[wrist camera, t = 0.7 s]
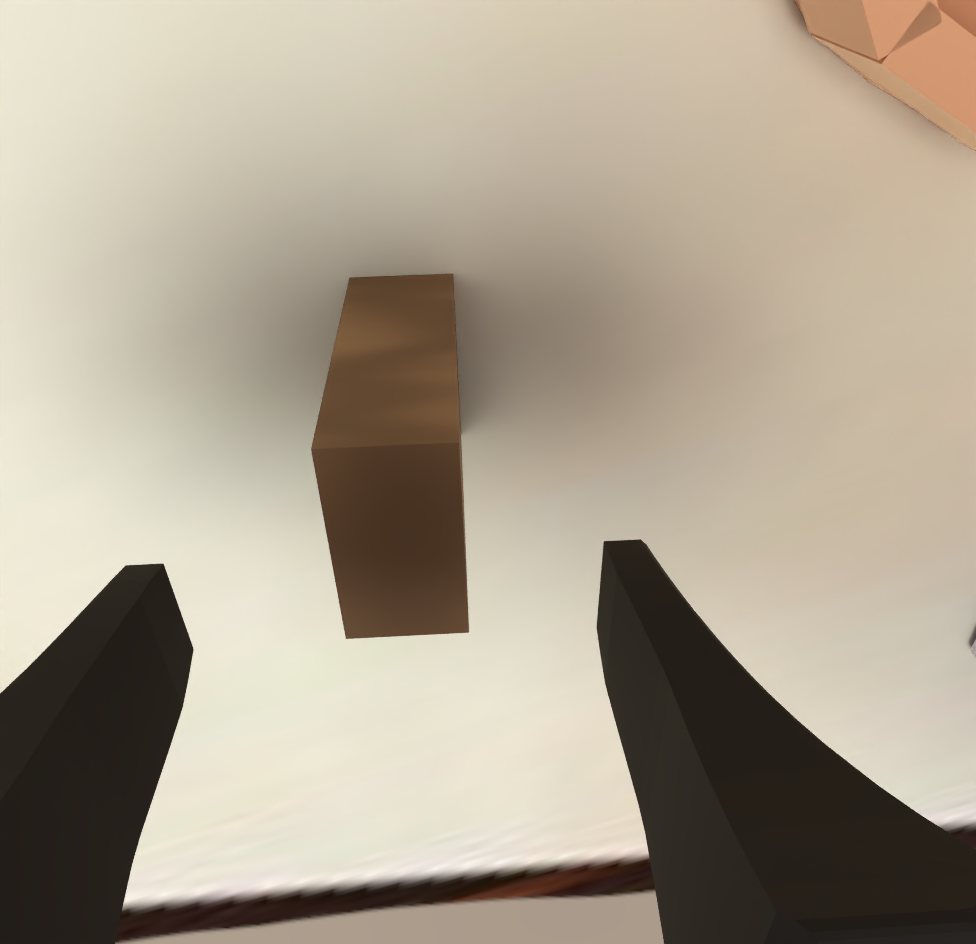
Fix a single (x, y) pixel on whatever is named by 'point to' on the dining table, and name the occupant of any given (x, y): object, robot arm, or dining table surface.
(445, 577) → the brown rectangular block
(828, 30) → the faceted copper bowl
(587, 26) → the dining table surface
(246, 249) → the dining table surface
